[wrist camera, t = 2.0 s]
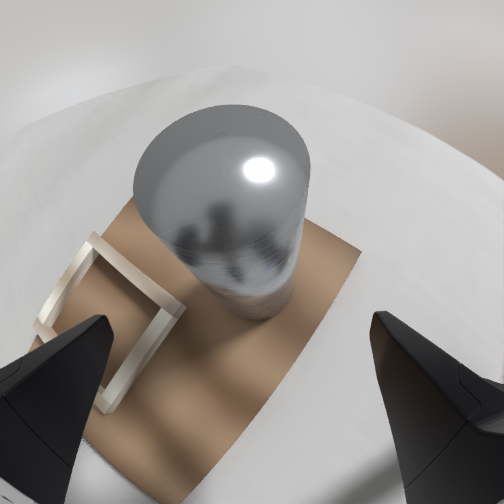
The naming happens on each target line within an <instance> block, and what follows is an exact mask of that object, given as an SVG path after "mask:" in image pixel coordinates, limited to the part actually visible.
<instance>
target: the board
mask: <svg viewBox="0 0 504 504" xmlns="http://www.w3.org/2000/svg"><path fill="white" fill-rule="evenodd" d="M361 252H362V251H360V250H359V249H357V248H355V247H354V246H352V245H350V244H349V243H347V242H345V241H344V240H342V239H340V238H339V237H337V236H335V235H333V234H332V233H330V232H328V231H327V230H325V229H323V228H321V227H320V226H318V225H316V224H314V223H313V222H311V221H309V220H307V219H306V218H304V223H303V230H302V237H301V244H300V250H299V256H298V263H297V269H296V275H295V281H294V287H293V292H292V296H291V298H290V301H289V302H288V304H287V305H286V307H285V308H284V309H283V310H282V311H281V312H280V313H278V314H277V315H276V316H274V317H272V318H269V319H267V320H262V321H249V320H245V319H242V318H240V317H238V316H236V315H234V314H233V313H232V312H231V311H230V310H229V309H228V308H227V307H225V306H224V305H223V304H222V303H221V302H220V301H219V300H218V299H217V298H216V297H215V296H214V295H213V294H212V293H211V292H210V291H209V290H208V289H207V288H206V287H205V286H204V285H203V284H202V283H201V282H200V281H199V280H198V279H197V278H196V277H195V276H194V275H193V274H192V273H191V272H190V271H189V270H188V269H187V268H186V267H185V266H184V265H183V264H182V263H181V262H180V260H179V259H178V258H177V257H176V256H175V255H174V254H173V253H172V252H171V251H170V250H169V249H168V248H167V247H166V246H165V245H164V244H163V243H162V242H161V241H160V240H159V238H158V237H157V236H156V235H155V234H154V233H153V232H152V231H151V230H150V229H149V228H148V226H147V225H146V224H145V223H144V222H143V220H142V218H141V217H140V215H139V213H138V210H137V208H136V205H135V201H134V196H133V197H132V198H131V199H130V200H129V202H128V203H127V204H126V205H125V207H124V208H123V209H122V210H121V212H120V213H119V214H118V215H117V217H116V218H115V219H114V220H113V222H112V223H111V224H110V226H109V227H108V228H107V229H106V231H105V232H104V233H103V235H102V236H101V237H100V236H99V235H98V234H97V233H95V232H94V231H93V233H92V234H91V235H90V237H89V238H88V239H87V241H86V242H85V243H84V245H83V246H82V248H81V249H80V250H79V252H78V253H77V255H76V256H75V258H74V259H73V261H72V262H71V264H70V265H69V267H68V268H67V270H66V271H65V273H64V274H63V276H62V277H61V279H60V280H59V282H58V283H57V285H56V287H55V288H54V290H53V291H52V293H51V295H50V296H49V298H48V300H47V301H46V303H45V305H44V306H43V308H42V310H41V311H40V313H39V315H38V317H37V318H36V320H35V322H34V324H33V328H34V329H35V331H36V332H37V333H38V335H37V337H36V339H35V341H34V342H33V344H32V346H31V348H30V350H29V352H31V351H33V350H34V349H36V348H38V347H39V346H41V345H43V344H45V343H46V342H48V341H50V340H51V339H53V338H55V337H57V336H58V335H60V334H62V333H64V332H65V331H67V330H69V329H71V328H72V327H74V326H76V325H78V324H79V323H81V322H83V321H85V320H86V319H88V318H90V317H92V316H93V315H95V314H101V315H106V316H107V318H108V320H109V322H110V325H111V327H112V330H113V332H114V341H113V344H112V347H111V351H110V354H109V358H108V362H107V365H106V369H105V372H104V375H103V378H102V381H101V383H100V386H99V389H98V392H97V394H96V397H95V400H94V403H93V405H92V408H91V411H90V414H89V417H88V420H87V423H86V426H85V429H84V432H83V436H84V437H85V438H86V439H87V440H88V441H89V442H90V443H91V444H92V445H93V446H94V447H95V448H96V449H97V450H98V451H99V452H100V453H101V454H102V455H103V456H104V457H105V458H106V459H107V460H108V461H109V462H110V463H111V464H112V465H113V466H114V467H116V468H117V469H118V470H119V471H120V472H121V473H122V474H123V475H125V476H126V477H127V478H128V479H129V480H131V481H132V482H133V483H134V484H135V485H137V486H138V487H139V488H140V489H142V490H143V491H144V492H145V493H147V494H148V495H149V496H151V497H152V498H153V499H155V500H156V501H157V502H159V503H160V504H180V503H181V502H182V501H183V500H184V499H185V498H186V497H187V496H188V495H189V494H190V493H191V491H192V490H193V489H194V488H195V487H196V486H197V485H198V484H199V483H200V482H201V481H202V480H203V478H204V477H205V476H206V475H207V474H208V473H209V472H210V471H211V469H212V468H213V467H214V466H215V465H216V464H217V463H218V461H219V460H220V459H221V458H222V457H223V456H224V454H225V453H226V452H227V451H228V450H229V448H230V447H231V446H232V445H233V444H234V442H235V441H236V440H237V439H238V437H239V436H240V435H241V434H242V433H243V431H244V430H245V429H246V427H247V426H248V425H249V424H250V422H251V421H252V420H253V419H254V417H255V416H256V415H257V413H258V412H259V411H260V409H261V408H262V407H263V405H264V404H265V403H266V401H267V400H268V399H269V397H270V396H271V395H272V393H273V392H274V391H275V389H276V388H277V386H278V385H279V384H280V382H281V381H282V379H283V378H284V377H285V375H286V374H287V372H288V371H289V369H290V368H291V366H292V365H293V364H294V362H295V361H296V359H297V358H298V356H299V355H300V353H301V352H302V350H303V349H304V347H305V346H306V344H307V343H308V341H309V340H310V338H311V336H312V335H313V333H314V332H315V330H316V329H317V327H318V326H319V324H320V322H321V321H322V319H323V318H324V316H325V314H326V313H327V311H328V309H329V308H330V306H331V305H332V303H333V301H334V300H335V298H336V296H337V295H338V293H339V291H340V289H341V288H342V286H343V284H344V283H345V281H346V279H347V277H348V276H349V274H350V272H351V270H352V268H353V267H354V265H355V263H356V261H357V259H358V258H359V256H360V254H361ZM29 352H28V353H29Z"/></svg>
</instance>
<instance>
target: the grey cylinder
mask: <svg viewBox="0 0 504 504" xmlns="http://www.w3.org/2000/svg"><path fill="white" fill-rule="evenodd" d="M309 179H310V158H309V153H308V150H307V147H306V145H305V143H304V141H303V139H302V137H301V136H300V135H299V133H298V132H297V131H296V130H295V129H294V127H293V126H292V125H290V124H289V123H288V122H287V121H285V120H284V119H283V118H281V117H279V116H278V115H276V114H274V113H272V112H269V111H267V110H264V109H261V108H257V107H252V106H246V105H221V106H214V107H209V108H205V109H202V110H198V111H196V112H193V113H191V114H188V115H186V116H184V117H182V118H180V119H179V120H177V121H175V122H174V123H172V124H171V125H169V126H168V127H167V128H165V129H164V130H163V131H162V132H161V133H160V134H159V135H157V136H156V138H155V139H154V140H153V141H152V142H151V143H150V144H149V146H148V147H147V149H146V150H145V152H144V153H143V155H142V157H141V159H140V161H139V163H138V166H137V168H136V172H135V176H134V183H133V196H134V201H135V205H136V208H137V210H138V213H139V215H140V217H141V218H142V220H143V222H144V223H145V224H146V225H147V226H148V228H149V229H150V230H151V231H152V232H153V233H154V234H155V235H156V236H157V237H158V238H159V240H160V241H161V242H162V243H163V244H164V245H165V246H166V247H167V248H168V249H169V250H170V251H171V252H172V253H173V254H174V255H175V256H176V257H177V258H178V259H179V260H180V262H181V263H182V264H183V265H184V266H185V267H186V268H187V269H188V270H189V271H190V272H191V273H192V274H193V275H194V276H195V277H196V278H197V279H198V280H199V281H200V282H201V283H202V284H203V285H204V286H205V287H206V288H207V289H208V290H209V291H210V292H211V293H212V294H213V295H214V296H215V297H216V298H217V299H218V300H219V301H220V302H221V303H222V304H223V305H224V306H225V307H227V308H228V309H229V310H230V311H231V312H232V313H233V314H234V315H236V316H238V317H240V318H242V319H245V320H249V321H262V320H267V319H269V318H272V317H274V316H276V315H277V314H278V313H280V312H281V311H282V310H283V309H284V308H285V307H286V305H287V304H288V302H289V301H290V298H291V296H292V292H293V287H294V281H295V275H296V269H297V263H298V256H299V250H300V244H301V237H302V230H303V223H304V216H305V209H306V202H307V195H308V187H309Z"/></svg>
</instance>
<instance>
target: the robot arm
mask: <svg viewBox="0 0 504 504" xmlns="http://www.w3.org/2000/svg"><path fill="white" fill-rule="evenodd" d="M113 341H114V332H113V330H112V327H111V325H110V322H109V320H108V318H107V316H106V315H101V314H95V315H93V316H92V317H90V318H88V319H86V320H85V321H83V322H81V323H79V324H78V325H76V326H74V327H72V328H71V329H69V330H67V331H65V332H64V333H62V334H60V335H58V336H57V337H55V338H53V339H51V340H50V341H48V342H46V343H45V344H43V345H41V346H39V347H38V348H36V349H34V350H33V351H31V352H29V353H27V354H26V355H24V357H23V356H22V357H21V358H19V359H17V360H15V361H14V362H12V363H10V364H8V365H7V366H5V367H3V368H1V369H0V504H35V503H37V504H64V502H65V497H66V493H67V489H68V485H69V481H70V477H71V473H72V468H73V466H74V462H75V459H76V455H77V452H78V448H79V445H80V442H81V439H82V435H83V432H84V429H85V426H86V423H87V420H88V417H89V414H90V411H91V408H92V405H93V403H94V400H95V397H96V394H97V392H98V389H99V386H100V383H101V381H102V378H103V375H104V372H105V369H106V365H107V362H108V358H109V354H110V351H111V347H112V344H113ZM370 342H371V348H372V353H373V358H374V364H375V370H376V375H377V380H378V384H379V387H380V390H381V394H382V397H383V401H384V405H385V408H386V412H387V416H388V419H389V423H390V427H391V431H392V435H393V439H394V443H395V448H396V452H397V456H398V461H399V465H400V470H401V475H402V480H403V485H404V489H405V490H404V491H405V496H406V502H407V504H504V391H503V390H501V389H499V388H498V387H496V386H494V385H493V384H491V383H490V382H488V381H486V380H485V379H483V378H482V377H480V376H479V375H477V374H476V373H474V372H473V371H471V370H470V369H469V368H467V367H466V366H464V365H463V364H462V363H460V362H459V361H457V360H456V359H455V358H453V357H452V356H450V355H449V354H448V353H446V352H445V351H443V350H442V349H441V348H439V347H438V346H436V345H435V344H434V343H432V342H431V341H429V340H428V339H426V338H425V337H424V336H422V335H421V334H419V333H418V332H416V331H415V330H414V329H412V328H411V327H409V326H408V325H406V324H405V323H404V322H402V321H401V320H399V319H398V318H396V317H395V316H393V315H392V314H391V313H389V312H387V311H376V312H375V313H374V314H373V318H372V323H371V328H370Z"/></svg>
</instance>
